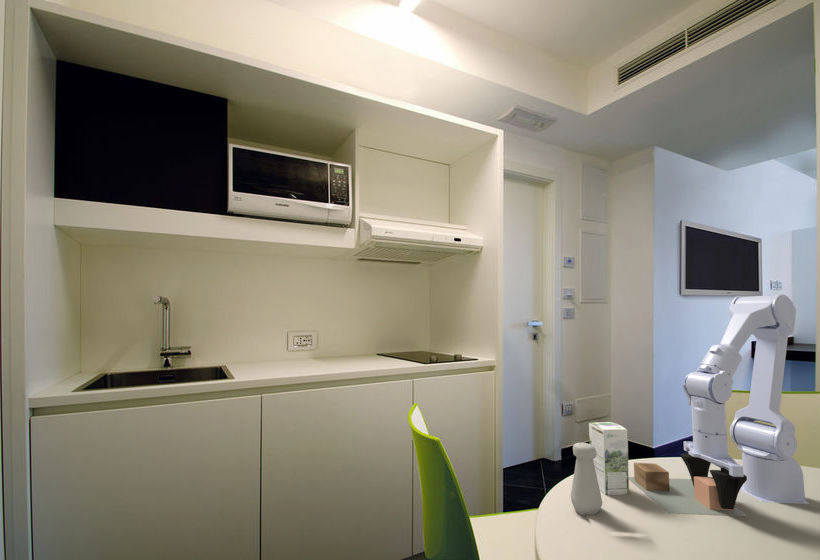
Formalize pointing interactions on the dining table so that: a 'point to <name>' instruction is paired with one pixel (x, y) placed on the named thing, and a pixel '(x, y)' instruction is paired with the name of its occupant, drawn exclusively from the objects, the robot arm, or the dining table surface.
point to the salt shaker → (585, 481)
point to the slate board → (683, 499)
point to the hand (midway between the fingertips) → (713, 499)
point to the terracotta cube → (707, 492)
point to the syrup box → (610, 457)
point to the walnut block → (651, 476)
